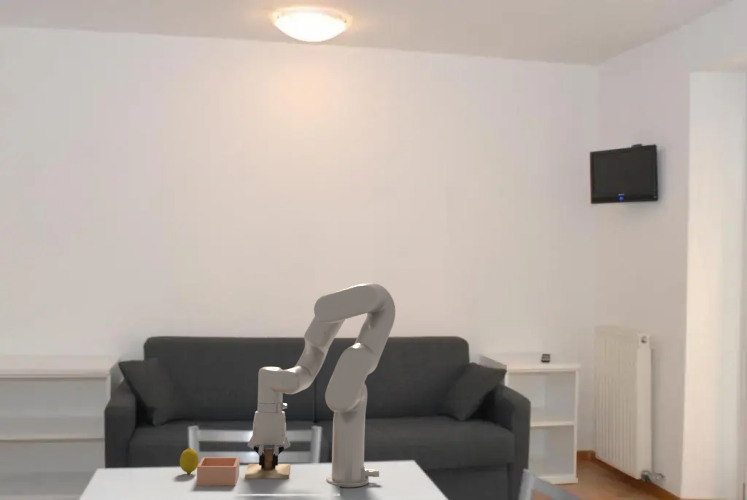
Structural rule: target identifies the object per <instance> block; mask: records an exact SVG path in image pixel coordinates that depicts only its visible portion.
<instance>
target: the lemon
mask: <svg viewBox="0 0 747 500" xmlns="http://www.w3.org/2000/svg"><path fill="white" fill-rule="evenodd" d="M179 457H180V459H179V466H180V468H181V470H182V471H183V472H185V473H186V474H187V475H190V474H191V473H192V472H195V470H197V466H198V464H199V455H198V452H197V451H196V450H194V449H193V448H192V447H188V448H187V449H185V450H183V452H182V453H181V454H180V456H179Z"/></svg>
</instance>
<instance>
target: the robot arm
mask: <svg viewBox="0 0 747 500" xmlns="http://www.w3.org/2000/svg"><path fill="white" fill-rule="evenodd" d="M313 313H314V317H313V319H312V320H311V322H310V324H309V326H308V327H307V329H306V331H305V332H304V334H303V335H304V336H303V339H304V349H303V351H302V354H301V356H300V357H299V359H298V361H296V364H295V365H294V366H293V367H291V368H288V369H282V368H281V367H278V366H263V367H261V368H259V370H258V374H257V375H258V377H257V378H258V382H257V410H256V411H255V412H254V417H253V424H252V435H251V437H250V439H249V441H248V442H247V447H249V448H250V449H252V450H254V451H255V453H256V454H257V455H258V456H259V457H258V464H259V465H261V469H263V468H264V446H266V447H268V446H273V449H274V456H273V469H275V468H276V466H278V464H279V455H280V454H281V453H282V452H283V451H285V450H286V449H289V448H290V447H291V442H290V440H289V439H288V436H287V421H286V412H285V411H284V409H288V404H287V403H284V402H283V401H284V400H283V395H284V394H285V395H294V394H297V393H301V391H304V390H306V389H308V388H309V387H310V386H311V385H312V383H314V380H315V379H316V377H317V375H318V374H319V372H320V370H321V368H322V366H323V364H324V363H325V361H326V357H327V354H328V352H329V349H330V347H331V345H332V343H333V341H334V339H335V338H336V336H337V335H338V333H339V331H340V329H341V327H342V326H343V324H344V323H345V321H346V320H347V319H351V318H354V317H358V316H361V315H364V314H365V315H366V314H367V315H366V318H365V320H364V322H363V324H362V326H361V327H360V330H359V332H358V335H357V338H356V339H355V342H354V344H353V345H351V346H349V347H347V348H346V349H345V350H343V352H342V353H341V355H340V357H339V359H337V360H338V361H337V362H336V365H335V368H334V370H333V372H332V374H331V377H330V379H329V381H328V384H327V387H326V390H325V394H324V399H325V403H326V405H327V408H329V409H330V410H331V411H332V412H333V417H332V419H333V420H332V446H331V447H332V448H331V449H332V450H331V451H332V452H331V458H332V459H331V474H328V475H327V477H326V479H325V480H326V483H328V484H331V485H333V486H338V487H340V488H358V487H362V486H366V485H368V483H369V482H370V481H369V480H370V479H369V478H371V477H372V478H380V470H379V469H378V470H375V469H374V468H371V469H370V468H369V469H368V468H367V467H366V466H365V437H366V436H365V433H366V431H365V430H366V413H367V412H366V411H367V404H368V403H367V402H368V388H367V385H366V383H365V382H366V380H367V378H368V375H370V374H372V373H373V372H374V371H375V370H376V369H377V367H378V364H379V362H380V359H381V356H382V354H383V351H384V349H385V346H386V344H387V341H388V339H389V336H390V333H391V331H392V329H393V325H394V324H395V319H396V305H395V301H394V299H393V297H392V295H391V294H390V292H389V291H388V290H387V289H386V287H384V286H383V285H381V284H378V283H375V282H374V283H373V282H372V283H371V282H370V283H362V284H357V285H354V286H350V287H347V288H344V289H340V290H338V291H334V292H331V293H328V294H323V295H322V296H320V297H319V298H318V299H316V301H315V304H314V307H313Z"/></svg>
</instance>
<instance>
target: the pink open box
mask: <svg viewBox="0 0 747 500" xmlns="http://www.w3.org/2000/svg"><path fill="white" fill-rule="evenodd" d="M240 459H241V458H240V457H237V456H236V457H235V456H234V457H228V456H227V457H226V456H224V457H223V456H222V457H220V456H219V457H217V456H216V457H215V456H214V457H213V456H211V457H210V456H203V457H201V459H200V462H198V466H197V468H196V487H201V486H202V487H236V486H237V483H238V480H239V477H240V463H241V462H240Z"/></svg>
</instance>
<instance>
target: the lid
mask: <svg viewBox="0 0 747 500" xmlns="http://www.w3.org/2000/svg"><path fill="white" fill-rule="evenodd" d="M263 452H264V468H263V469H261V465H259V463H248V465H247V467H246V471H245V474H244V479H289V478H290V472H291V464H290V463H278V466H276V468H275V469H273V456H274V452H275V448H263Z"/></svg>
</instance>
